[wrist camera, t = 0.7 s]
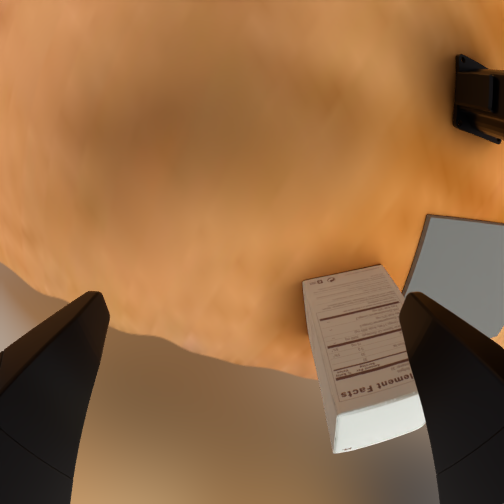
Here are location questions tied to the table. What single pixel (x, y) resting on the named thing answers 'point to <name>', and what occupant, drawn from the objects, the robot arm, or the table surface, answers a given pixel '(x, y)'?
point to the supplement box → (361, 357)
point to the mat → (462, 270)
